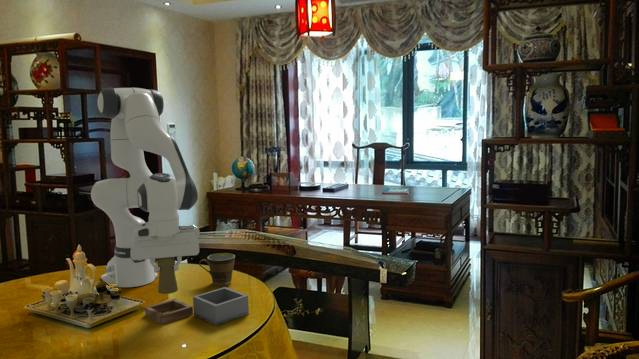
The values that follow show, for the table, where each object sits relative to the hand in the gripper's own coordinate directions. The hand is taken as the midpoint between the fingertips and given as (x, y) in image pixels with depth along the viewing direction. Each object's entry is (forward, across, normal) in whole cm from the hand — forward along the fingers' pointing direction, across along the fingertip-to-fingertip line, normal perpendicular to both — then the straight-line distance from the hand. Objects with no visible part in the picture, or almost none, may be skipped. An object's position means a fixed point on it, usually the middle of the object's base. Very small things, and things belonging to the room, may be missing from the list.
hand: (166, 270), depth 159 cm
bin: (+14, -16, +6) cm, 22 cm away
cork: (+7, 0, 0) cm, 7 cm away
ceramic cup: (+15, -17, -25) cm, 34 cm away
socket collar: (+14, 0, +1) cm, 14 cm away
